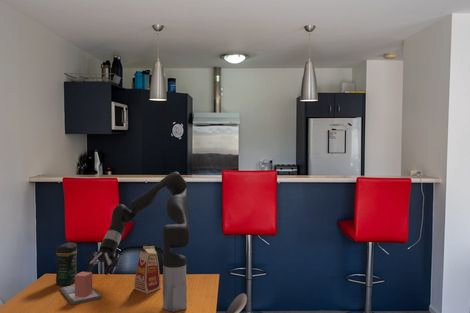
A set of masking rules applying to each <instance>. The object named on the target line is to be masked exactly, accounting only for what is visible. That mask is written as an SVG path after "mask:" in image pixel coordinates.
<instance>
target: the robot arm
mask: <svg viewBox="0 0 470 313" xmlns="http://www.w3.org/2000/svg"><path fill="white" fill-rule="evenodd" d="M164 188H166V189H167V190H168V191H169V192H170V194H171V195H172V196H171V197H169V199H168V200H167V203H166V214H167V216H168V219H170V220H171V221H172V222H173V223H174V224H165V225H164V226H163V227H162V230H161V231H162V232H161V235H162V253H163V254H162V308H163V310H165V311H168V312H172V313H175V312H179V311H183V310H186V309H187V307H188V306H187V305H188V302H187V300H188V299H187V298H188V297H187V294H188V293H187V292H188V291H187V290H188V287H187V257H186V256H185V255H183V254H181V253H178V252H175V251H173V250H172V249H178V248H180V249H181V248H186V247H188V246H189V244H190V240H191V231H190V227H189V226H190V225H189V219H188V214H189V213H188V212H189V210H188V197H187V196H188V190H189V186H188V182H187V181H186V180H185V178H184V177H183V176H182V174H181V173H180V172H178V171H172V172H170V173H169V174H167V175H166V176H165V177H163V178H162V179H160V181H158V182H157V183H155V185H153V186H152V187H151V188H149V189H148V190H147V191H146V192H145V193H143V194H140V195H139V196H138V197H136V198H134V199H133V200H131V201H130V203H129V206H130V208H131V210H130V209H129V208H128V207H127V206H126V205H125V204H122V203H119V204H117V205H116V206H115V207H114V208H113V210H112V213H111V220H110V225H109V228H108V230H107V232H106V233H105V235H104V237H103V240H102V242H101V244H100V246H99V250H98V251H95V250H92V251H91V252H90V255H88V259H87V260H86V263H87V264H88V267H87V270H86V272H92V273H93V270H94V268H95V265H97V264H100V263H107V265H106V268H105V270H104V275H105V276H107V275H109V274H110V273H111V270H112V268H113V267H114V268H115V267H118V263H119V260H120V257H121V255H120V254H119V252H116V251H117V249H118V247H119V246H120V242H121V240H122V236H123V235H124V231H125V228H126V227H125V224H129V223H131V222H132V221H133V220H134V219H135V218H136V217H137V216H138V215H139V214H140V213H141V212H143V211H145V210H146V209H148V208H150V207H151V206H152V204H153V203H154V202H155V201H156V199H157V196H158V195H159V193H160V192H161V191H162V190H163V189H164ZM112 259H113V261H112Z"/></svg>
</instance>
